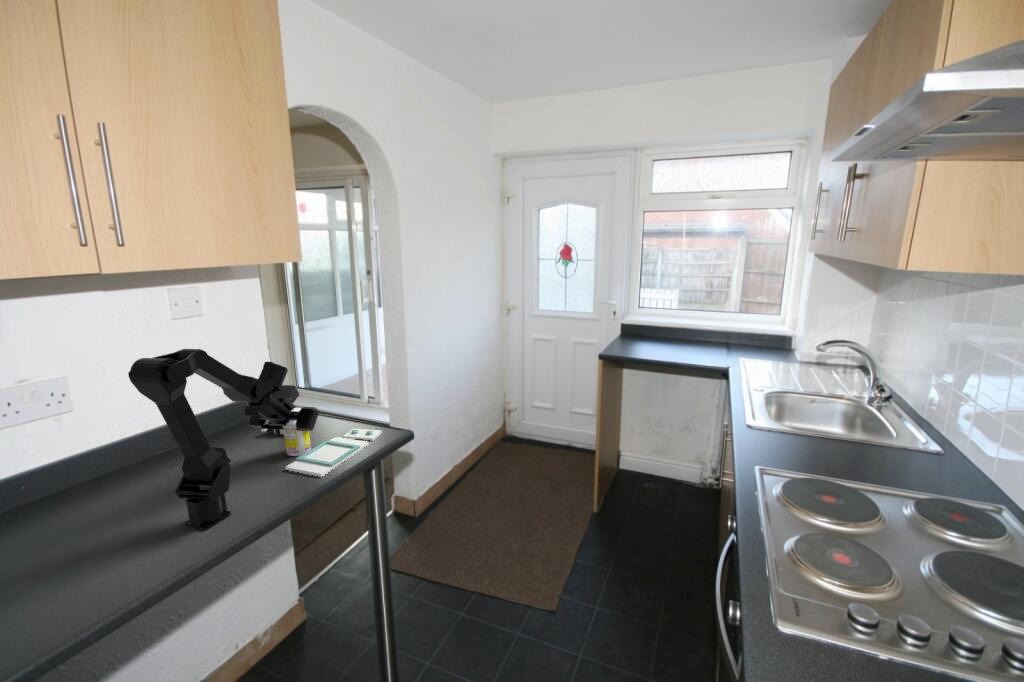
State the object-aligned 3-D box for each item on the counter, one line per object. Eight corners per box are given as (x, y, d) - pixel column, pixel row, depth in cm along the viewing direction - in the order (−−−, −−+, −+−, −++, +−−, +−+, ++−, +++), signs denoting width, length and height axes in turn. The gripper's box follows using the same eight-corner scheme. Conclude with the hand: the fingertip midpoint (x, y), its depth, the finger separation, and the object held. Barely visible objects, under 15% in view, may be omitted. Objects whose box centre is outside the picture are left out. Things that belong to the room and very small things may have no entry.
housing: (321, 477, 122) (320, 471, 122) (285, 470, 126) (284, 464, 126) (368, 444, 140) (368, 439, 140) (336, 439, 144) (335, 434, 144)
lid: (372, 440, 143) (372, 436, 143) (343, 438, 145) (342, 434, 145) (381, 432, 149) (381, 428, 148) (353, 430, 151) (352, 426, 151)
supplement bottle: (308, 444, 141) (303, 404, 139) (314, 452, 136) (308, 410, 133) (284, 450, 138) (278, 409, 135) (289, 459, 132) (283, 416, 129)
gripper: (311, 380, 126) (336, 404, 139) (249, 378, 129) (280, 402, 142) (297, 419, 121) (325, 440, 134) (232, 415, 124) (266, 437, 137)
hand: (299, 428), depth 137 cm, fingers closed on supplement bottle, 7 cm apart
